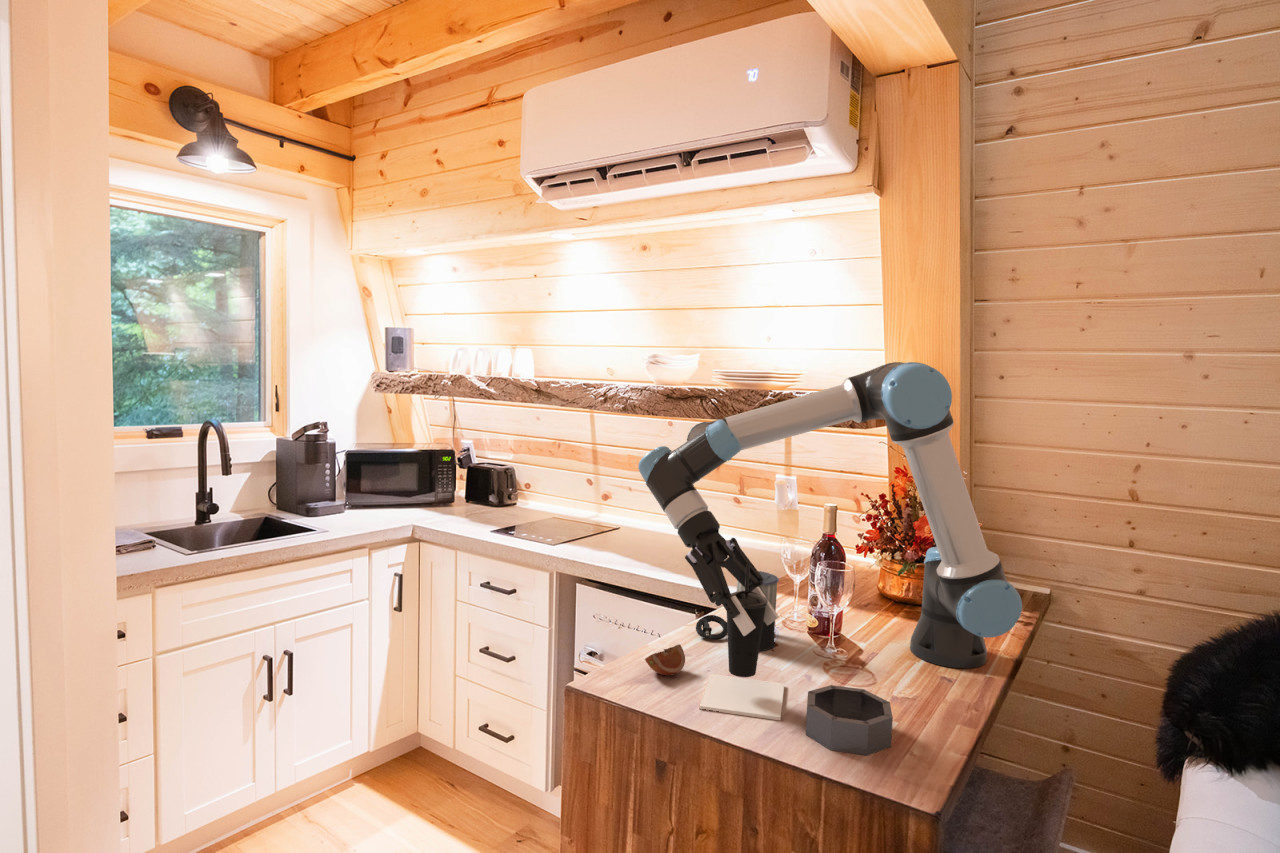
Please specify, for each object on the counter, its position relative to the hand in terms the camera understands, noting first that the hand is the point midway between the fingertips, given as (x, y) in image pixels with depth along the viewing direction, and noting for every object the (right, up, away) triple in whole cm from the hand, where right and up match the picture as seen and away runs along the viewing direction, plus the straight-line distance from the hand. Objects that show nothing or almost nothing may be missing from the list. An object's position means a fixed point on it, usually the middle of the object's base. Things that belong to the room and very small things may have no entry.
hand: (761, 626), depth 137 cm
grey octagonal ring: (+13, -16, -8) cm, 22 cm away
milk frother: (-1, -11, +32) cm, 34 cm away
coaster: (-3, -14, +4) cm, 15 cm away
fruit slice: (-17, -13, +13) cm, 25 cm away
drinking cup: (-3, -9, +3) cm, 10 cm away
